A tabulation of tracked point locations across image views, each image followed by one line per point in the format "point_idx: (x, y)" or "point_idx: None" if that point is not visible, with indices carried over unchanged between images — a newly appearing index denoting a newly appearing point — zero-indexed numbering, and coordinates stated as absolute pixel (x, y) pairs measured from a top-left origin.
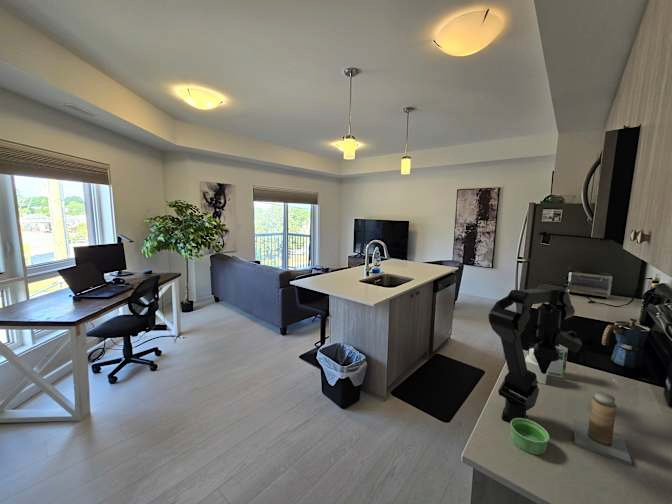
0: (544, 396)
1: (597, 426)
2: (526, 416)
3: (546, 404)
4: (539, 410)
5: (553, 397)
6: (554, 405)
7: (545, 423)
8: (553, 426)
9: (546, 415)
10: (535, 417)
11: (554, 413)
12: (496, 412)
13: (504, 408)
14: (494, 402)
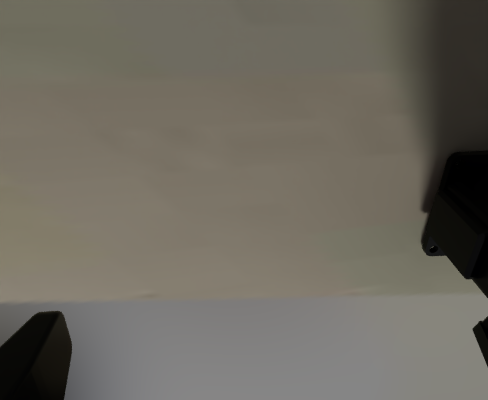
0: (114, 75)
1: None
2: (466, 160)
3: (226, 59)
4: (336, 97)
5: (72, 11)
6: (200, 5)
7: (468, 59)
8: (481, 13)
9: (373, 56)
10: (428, 113)
11: (318, 6)
12: None
13: (436, 253)
14: (383, 288)
